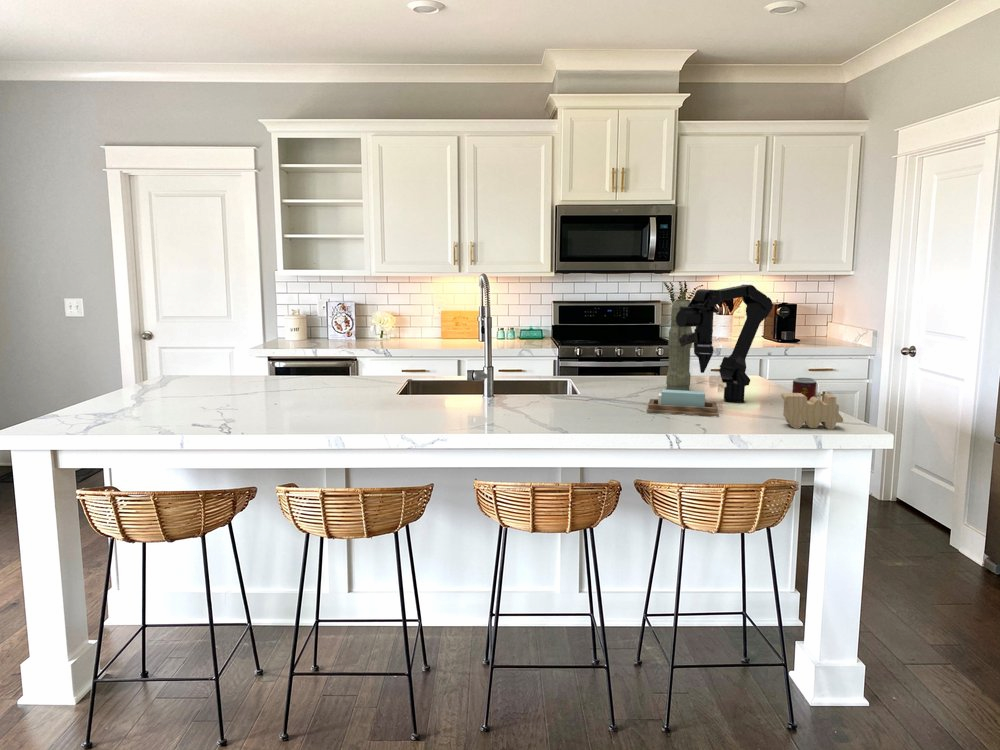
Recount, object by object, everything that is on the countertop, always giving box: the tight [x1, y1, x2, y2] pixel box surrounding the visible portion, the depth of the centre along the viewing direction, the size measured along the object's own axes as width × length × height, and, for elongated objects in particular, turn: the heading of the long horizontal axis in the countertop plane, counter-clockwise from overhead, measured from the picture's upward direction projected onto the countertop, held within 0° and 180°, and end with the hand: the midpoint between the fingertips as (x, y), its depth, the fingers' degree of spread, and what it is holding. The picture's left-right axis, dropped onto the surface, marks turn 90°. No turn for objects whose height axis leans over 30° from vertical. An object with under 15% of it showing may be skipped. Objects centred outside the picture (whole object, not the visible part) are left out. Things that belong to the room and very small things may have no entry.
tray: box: [645, 398, 720, 417], centre depth 241 cm, size 23×13×2 cm, turn 75°
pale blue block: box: [657, 389, 706, 407], centre depth 241 cm, size 15×5×6 cm, turn 75°
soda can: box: [791, 377, 818, 401], centre depth 234 cm, size 7×7×12 cm
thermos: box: [666, 299, 693, 391], centre depth 275 cm, size 9×12×35 cm
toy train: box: [780, 392, 844, 430], centre depth 219 cm, size 6×17×10 cm, turn 82°
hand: (702, 370), depth 250 cm, fingers open, 9 cm apart
